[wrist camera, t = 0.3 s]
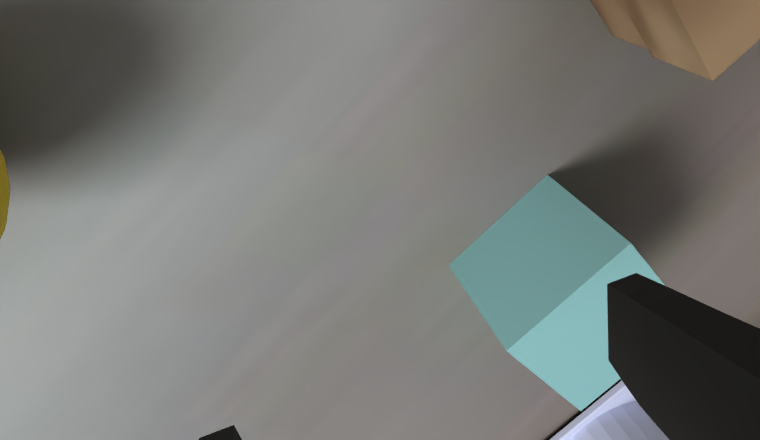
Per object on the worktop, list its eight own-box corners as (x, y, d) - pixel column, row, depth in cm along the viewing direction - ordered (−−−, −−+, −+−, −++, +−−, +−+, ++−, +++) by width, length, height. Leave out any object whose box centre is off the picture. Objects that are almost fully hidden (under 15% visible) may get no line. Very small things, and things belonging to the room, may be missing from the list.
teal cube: (606, 244, 25) (692, 319, 20) (516, 323, 25) (581, 411, 21) (546, 173, 22) (630, 242, 18) (447, 264, 23) (506, 351, 19)
